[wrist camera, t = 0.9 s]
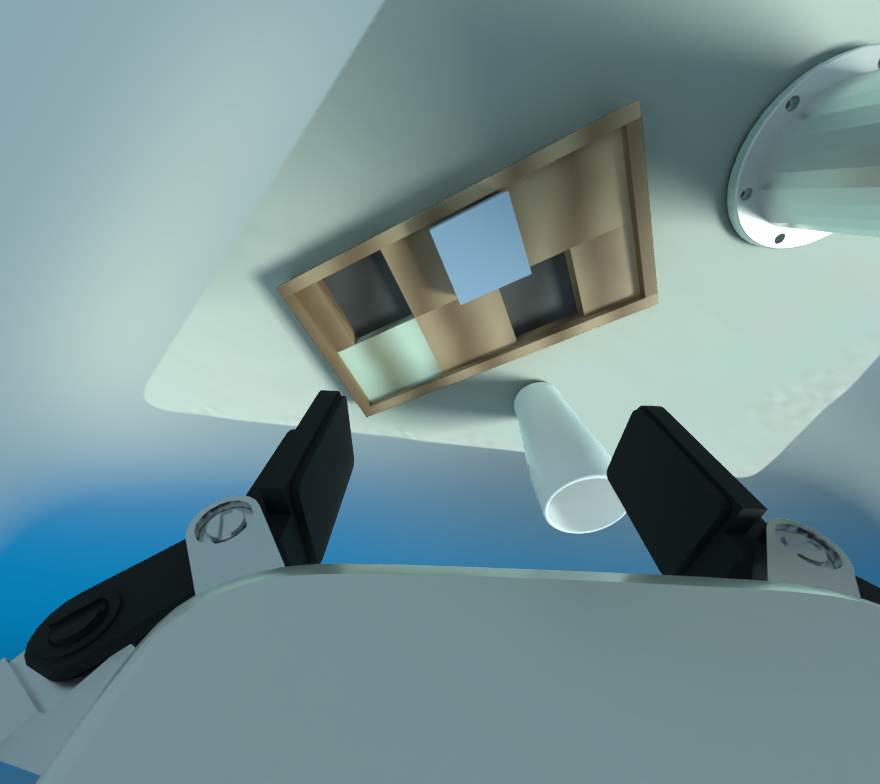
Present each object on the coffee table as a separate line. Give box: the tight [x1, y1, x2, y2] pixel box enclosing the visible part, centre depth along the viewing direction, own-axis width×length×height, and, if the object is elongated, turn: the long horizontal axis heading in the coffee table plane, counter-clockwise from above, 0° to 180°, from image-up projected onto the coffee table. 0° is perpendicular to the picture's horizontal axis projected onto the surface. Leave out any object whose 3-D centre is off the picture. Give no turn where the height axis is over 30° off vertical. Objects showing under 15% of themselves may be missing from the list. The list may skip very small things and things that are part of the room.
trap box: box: [277, 99, 659, 417], centre depth 29 cm, size 30×15×3 cm, turn 114°
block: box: [430, 191, 532, 305], centre depth 25 cm, size 6×6×3 cm
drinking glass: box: [514, 382, 626, 533], centre depth 31 cm, size 7×7×15 cm
